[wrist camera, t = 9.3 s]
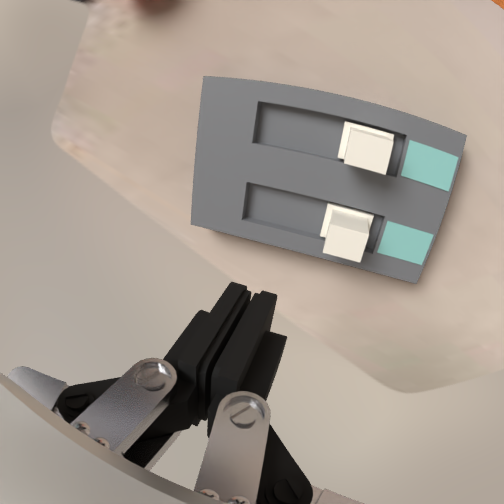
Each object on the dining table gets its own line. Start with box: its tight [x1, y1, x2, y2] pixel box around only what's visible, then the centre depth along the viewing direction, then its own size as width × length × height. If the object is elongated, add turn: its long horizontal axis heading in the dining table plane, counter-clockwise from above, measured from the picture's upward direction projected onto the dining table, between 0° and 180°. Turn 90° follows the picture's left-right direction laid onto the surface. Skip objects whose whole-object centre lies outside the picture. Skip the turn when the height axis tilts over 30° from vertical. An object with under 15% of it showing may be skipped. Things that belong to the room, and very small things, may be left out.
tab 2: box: [320, 201, 374, 262], centre depth 24 cm, size 4×3×4 cm
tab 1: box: [338, 121, 394, 175], centre depth 21 cm, size 4×3×4 cm
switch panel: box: [191, 76, 467, 284], centre depth 26 cm, size 22×14×3 cm, turn 82°
